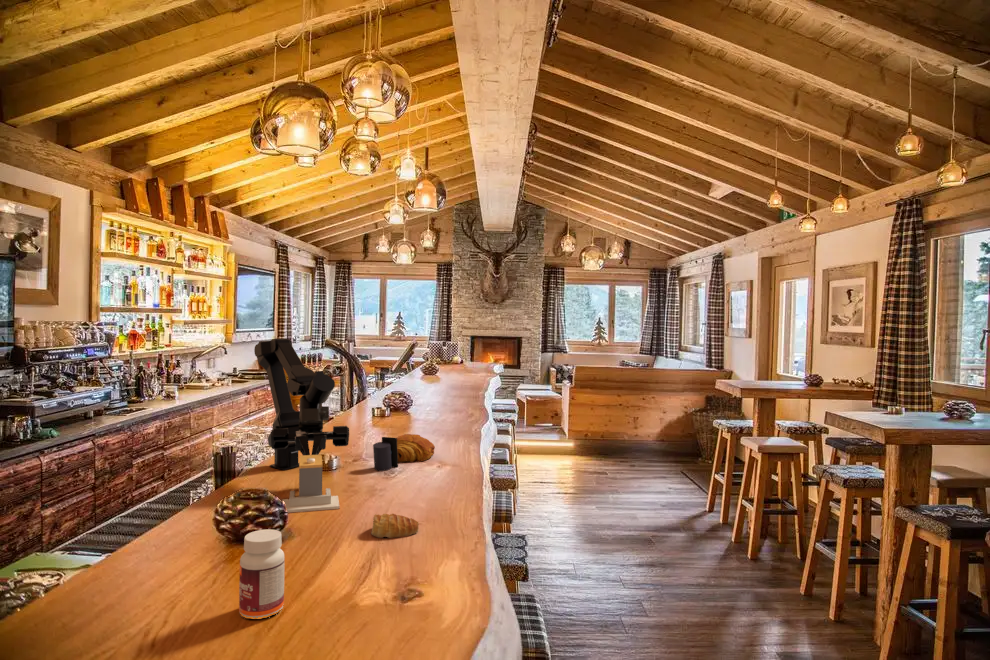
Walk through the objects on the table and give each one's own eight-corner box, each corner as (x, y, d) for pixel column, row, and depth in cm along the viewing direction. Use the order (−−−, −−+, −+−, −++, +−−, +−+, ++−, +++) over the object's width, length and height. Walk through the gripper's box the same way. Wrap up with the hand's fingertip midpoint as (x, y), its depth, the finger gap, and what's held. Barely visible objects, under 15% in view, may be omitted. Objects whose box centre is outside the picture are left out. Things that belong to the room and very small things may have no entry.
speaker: (386, 463, 173) (385, 434, 172) (398, 467, 171) (398, 437, 169) (370, 470, 168) (369, 440, 167) (382, 474, 165) (382, 443, 164)
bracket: (281, 502, 137) (281, 491, 137) (337, 498, 141) (337, 487, 141) (280, 513, 130) (280, 502, 130) (339, 508, 133) (339, 497, 133)
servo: (299, 495, 143) (300, 452, 143) (321, 493, 145) (321, 451, 144) (298, 508, 134) (299, 462, 133) (321, 506, 135) (322, 461, 135)
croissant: (379, 467, 178) (377, 442, 177) (402, 449, 193) (400, 426, 192) (423, 471, 174) (421, 445, 173) (443, 452, 189) (441, 428, 187)
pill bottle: (231, 611, 87) (232, 535, 87) (270, 596, 92) (271, 524, 91) (252, 626, 83) (253, 546, 83) (292, 610, 88) (292, 534, 87)
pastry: (418, 526, 124) (418, 508, 124) (418, 539, 117) (419, 519, 117) (372, 528, 122) (372, 509, 122) (370, 540, 116) (370, 521, 116)
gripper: (271, 396, 146) (268, 450, 136) (349, 394, 151) (351, 446, 141) (273, 422, 154) (270, 475, 143) (347, 419, 159) (349, 470, 149)
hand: (310, 466), depth 144 cm, fingers closed
